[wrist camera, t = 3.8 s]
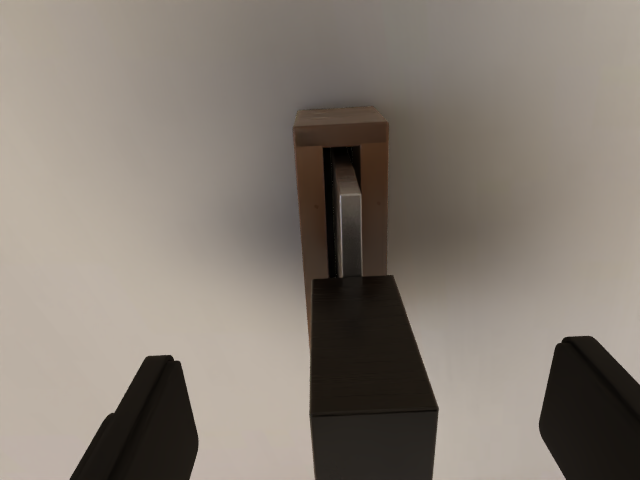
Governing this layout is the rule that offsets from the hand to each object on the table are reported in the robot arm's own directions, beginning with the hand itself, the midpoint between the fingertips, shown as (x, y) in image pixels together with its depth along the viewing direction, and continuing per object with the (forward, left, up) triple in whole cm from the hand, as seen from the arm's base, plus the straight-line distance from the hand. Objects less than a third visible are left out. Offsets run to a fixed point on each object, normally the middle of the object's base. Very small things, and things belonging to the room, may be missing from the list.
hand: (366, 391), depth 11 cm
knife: (0, 0, -11) cm, 11 cm away
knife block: (0, 0, -11) cm, 11 cm away
